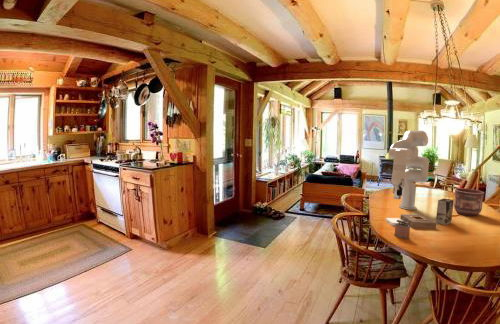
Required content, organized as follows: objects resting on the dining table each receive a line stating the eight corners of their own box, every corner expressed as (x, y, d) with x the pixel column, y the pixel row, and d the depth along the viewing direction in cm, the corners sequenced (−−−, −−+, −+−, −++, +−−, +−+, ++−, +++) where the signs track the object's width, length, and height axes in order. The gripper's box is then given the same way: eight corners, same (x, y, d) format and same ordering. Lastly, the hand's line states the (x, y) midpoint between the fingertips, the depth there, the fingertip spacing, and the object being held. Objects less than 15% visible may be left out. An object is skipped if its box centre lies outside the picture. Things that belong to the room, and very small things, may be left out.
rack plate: (400, 219, 193) (400, 213, 193) (422, 220, 192) (422, 214, 191) (412, 227, 177) (412, 221, 177) (436, 228, 176) (436, 222, 176)
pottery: (487, 218, 197) (490, 193, 195) (460, 216, 201) (462, 192, 199) (473, 211, 215) (475, 188, 213) (448, 209, 218) (450, 187, 216)
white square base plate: (385, 220, 191) (385, 217, 191) (398, 221, 190) (398, 218, 190) (391, 225, 181) (392, 222, 181) (405, 226, 180) (406, 223, 180)
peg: (392, 197, 186) (393, 183, 184) (398, 197, 186) (399, 183, 184) (395, 199, 182) (396, 184, 181) (401, 199, 182) (402, 184, 180)
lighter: (410, 238, 161) (411, 221, 159) (408, 239, 158) (409, 223, 157) (395, 234, 166) (396, 218, 165) (393, 235, 164) (394, 219, 163)
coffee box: (446, 225, 182) (448, 202, 180) (435, 222, 187) (437, 199, 185) (451, 222, 187) (454, 200, 185) (441, 220, 192) (443, 198, 190)
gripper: (388, 165, 189) (386, 191, 192) (399, 169, 173) (397, 197, 175) (399, 166, 189) (397, 191, 191) (411, 169, 172) (409, 198, 175)
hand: (397, 194), depth 183 cm, fingers closed on peg, 4 cm apart
